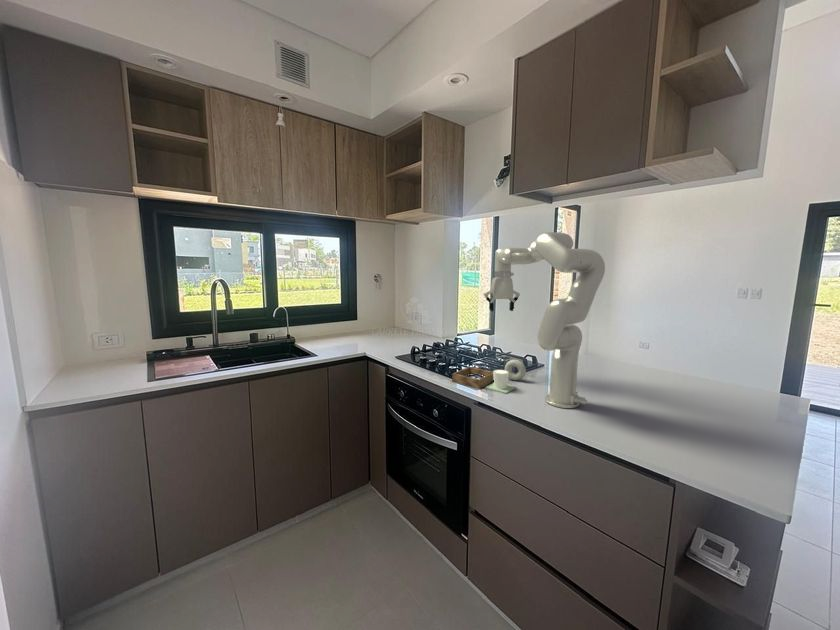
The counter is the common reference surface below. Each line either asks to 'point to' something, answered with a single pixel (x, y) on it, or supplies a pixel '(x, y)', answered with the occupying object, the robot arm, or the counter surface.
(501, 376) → the white cylinder
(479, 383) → the walnut box
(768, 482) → the counter surface
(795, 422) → the counter surface
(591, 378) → the counter surface
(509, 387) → the green mat
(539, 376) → the counter surface
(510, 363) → the donut
